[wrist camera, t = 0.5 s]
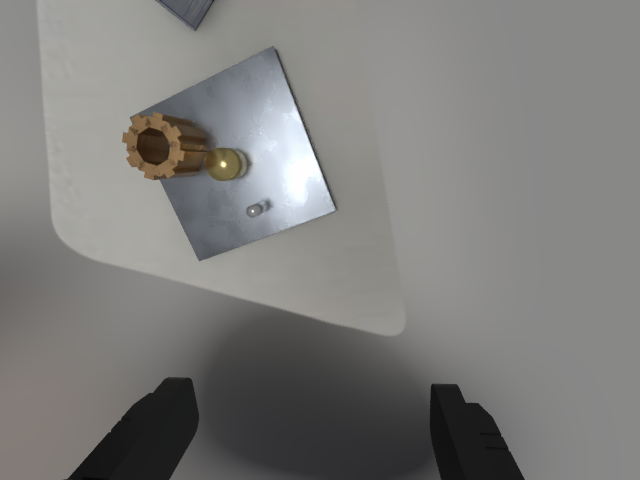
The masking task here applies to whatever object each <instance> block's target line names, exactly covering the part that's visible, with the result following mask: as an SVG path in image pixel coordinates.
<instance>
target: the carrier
mask: <svg viewBox="0 0 640 480" xmlns="http://www.w3.org/2000/svg"><path fill="white" fill-rule="evenodd" d="M153 112H157V113H161V114H166V115H170V116H174V117H179V118H183V119H186V120H189V121H191V124H190V126H192V127H195V128H196V129H198V130H202V131H203V132H204V134H205V136H206V139H205V140H203V141H204V143H205V145H206V148H205V151H206V152H209V153H208V154H207V156H206V159H205V161H203V164H202V165H201V166H200V167H198V168H199V170H200V172H199V173H198V174H196V175H194V176H186V177H177V178H167V179H160V181H161V183H162V185H163V188H164V190H165V192H166V194H167V196H168V198H169V200H170V202H171V204H172V206H173V208H174V210H175V212H176V214H177V216H178V219H179V221H180V223H181V225H182V227H183V229H184V231H185V233H186V235H187V237H188V239H189V241H190V243H191V245H192V247H193V250H194V252H195V254H196V256H197V258H198V260H199V261H201V260H204V259H207V258H209V257H212V256H215V255H218V254H220V253H223V252H226V251H228V250H231V249H234V248H236V247H239V246H242V245H245V244H247V243H250V242H253V241H255V240H258V239H261V238H263V237H266V236H269V235H271V234H274V233H277V232H280V231H282V230H285V229H288V228H290V227H293V226H296V225H298V224H301V223H304V222H307V221H309V220H312V219H315V218H317V217H320V216H323V215H325V214H328V213H331V212H334V211H336V207H335V204H334V202H333V199H332V196H331V194H330V191H329V188H328V186H327V183H326V181H325V178H324V175H323V173H322V170H321V167H320V165H319V162H318V160H317V157H316V154H315V152H314V149H313V146H312V144H311V141H310V138H309V136H308V133H307V131H306V128H305V125H304V123H303V120H302V117H301V115H300V112H299V110H298V107H297V104H296V102H295V99H294V96H293V94H292V91H291V89H290V86H289V83H288V81H287V78H286V75H285V73H284V70H283V67H282V65H281V62H280V60H279V57H278V54H277V52H276V50H275V48H274V47H273V46H272V47H270V48H268V49H266V50H264V51H262V52H260V53H258V54H256V55H254V56H252V57H250V58H248V59H246V60H244V61H242V62H240V63H238V64H236V65H234V66H232V67H230V68H228V69H226V70H224V71H222V72H220V73H218V74H216V75H214V76H212V77H210V78H208V79H206V80H204V81H202V82H200V83H198V84H196V85H194V86H192V87H190V88H188V89H186V90H184V91H182V92H180V93H178V94H176V95H174V96H172V97H170V98H168V99H166V100H164V101H162V102H160V103H158V104H156V105H154V106H152V107H150V108H148V109H146V110H144V111H142V112H140V113H138V114H142V115H147V116H152V117H153ZM136 115H137V114H136ZM136 115H134V116H136ZM134 116H132V117H130V119H132V118H133V117H134ZM131 121H132V120H131ZM132 123H133V122H132ZM133 124H134V123H133ZM170 146H171V144H170V143H169V142H168V148H167V151H168V152H170Z"/></svg>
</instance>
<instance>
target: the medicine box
mask: <svg viewBox="0 0 640 480" xmlns="http://www.w3.org/2000/svg"><path fill="white" fill-rule="evenodd" d="M155 1H157V2H158V3H159V4H160V5H162V6H163V7H164V8H166V9H167V10H168V11H169V12H171V13H172V14H173V15H174V16H176V17H177V18H178V19H180V20H181V21H182V22H184V23H185V24H186V25H187V26H189V27H190V28H191V29H192V30H195V29H196V28H197V26H198V24H199V23H200V21H201V19H202V18H203V16H204V14H205V13H206V11H207V9H208V8H209V6H210V5H211V3H212V1H213V0H155Z"/></svg>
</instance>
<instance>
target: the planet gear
mask: <svg viewBox="0 0 640 480" xmlns="http://www.w3.org/2000/svg"><path fill="white" fill-rule="evenodd" d="M131 120H132V122H133V123H134V124H133V125H132V126H130V127H129V133H125V132H123V140H122V142H123V143H127V152H128V153H129V155H130V156H129V157H127V158H126V159H127V161H128V162H129V164H130V165H131V167H137V168H138V169H139V170H140V171H143V172H145V175H144V177H145V178H149V179H152V180H158V179H167V178H177V177H186V176H194V175H196V174H198V173H199V172H200V170H199V168H198V167H200V166H201V165H202V164H203V161H205V159H206V156H207V154H208V153H209V152H206V151H205V148H206V145H205V143H204V141H203V140H205V139H206V136H205V134H204V132H203V131H202V130H198V129H196V128H195V127H192V126H190V124H191V121H189V120H186V119H183V118H179V117H174V116H170V115H166V114H161V113H157V112H153V117H152V116H147V115H142V114H137V115H136V116H134V117H133V118H132V119H131ZM168 142H169V143H170V144H171V146H170V152H168V151H167V148H168Z"/></svg>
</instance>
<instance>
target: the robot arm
mask: <svg viewBox="0 0 640 480" xmlns="http://www.w3.org/2000/svg"><path fill="white" fill-rule="evenodd" d="M430 397H431V399H430V435H431V442H432V446H433V450H434V454H435V458H436V462H437V466H438V470H439V473H440V477H441V480H525V479H524V477H523V476H522V474H521V472H520V470H519V468H518V466H517V464H516V462H515V460H514V458H513V456H512V454H511V452H509V450H508V446H507V444H506V443H505V441H504V439H503V437H501V433H500V431H499V429H498V427H497V425H496V423H495V421H494V419H493V417H492V416H491V415H490V414H489V413H488V412H487V411H486V410H484V409H483V408H482V407H481V406H480V405H479V404H478V403H466V402H465V400H464V398H463V396H462V393H461V391H460V389H459V387H458V385H457V384H432V385H431V396H430ZM198 422H199V413H198V408H197V402H196V397H195V392H194V387H193V382H192V380H191V379H190V378H179V377H178V378H177V377H168V378H166V379H164V380H163V382H162V383H161V384H160V385H159V386H158V387H157V389H156V390H155V391H154V392H153V393H149V394H147V395H146V396H145V397H143V398H142V399H140V400H139V401H138V402H136V403H135V404H134V405H133V406H132V407H131V408H130V409H129V410H128V411H127V412H126V414H125V415H124V416H123V417H122V419H121V421H118V423H117V424H116V425H115V426H114V427H113V428H112V429H111V432H109V433H108V434H107V435H106V436H105V437H104V438H103V440H102V441H101V442H100V443H99V444H98V445H97V446H96V447H95V449H94V450H93V451H92V452H91V453H90V454H89V455H88V457H87V458H86V459H85V460H84V461H83V462H82V464H80V466H79V467H78V468H77V469H76V470H75V471H74V472H73V473H72V475H71V476H70V477H69V478H68V479H64V480H169V479H170V477H171V476H172V474H173V472H174V470H175V469H176V467H177V465H178V463H179V461H180V460H181V458H182V456H183V454H184V453H185V451H186V449H187V448H188V446H189V444H190V442H191V441H192V439H193V437H194V435H195V433H196V431H197V427H198Z"/></svg>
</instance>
